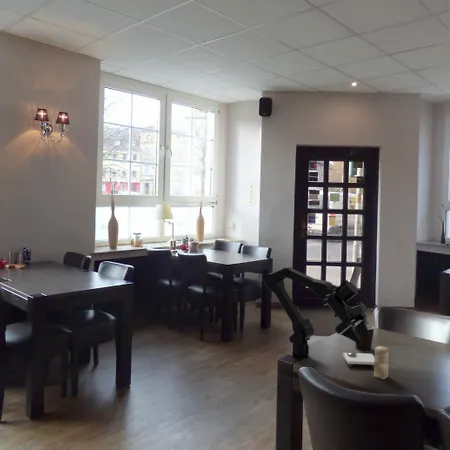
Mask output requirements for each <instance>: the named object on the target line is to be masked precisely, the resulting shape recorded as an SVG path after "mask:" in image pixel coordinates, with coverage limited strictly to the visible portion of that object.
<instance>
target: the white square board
mask: <svg viewBox="0 0 450 450" xmlns="http://www.w3.org/2000/svg"><path fill="white" fill-rule="evenodd" d="M347 353H348V352H342V356H343V358H344V359H345V362H346V363H347V365H348V367H350V368H351V367H352V368H353V366H354V365H370V366H371V367H372V368H373V369H374V357H375V355H373V353H360V352H357V353H356V352H355V353H356V357H350V356H348V355H347Z"/></svg>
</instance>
